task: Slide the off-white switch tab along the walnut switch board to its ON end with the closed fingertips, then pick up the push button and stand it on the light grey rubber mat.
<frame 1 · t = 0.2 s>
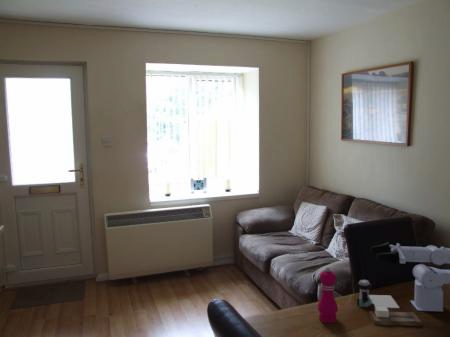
hand: (374, 253, 148), 22 cm above the table, tool horizontal, fingers open, 7 cm apart
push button: (365, 305, 151), on the table
pepper mill: (327, 319, 141), on the table
parts mat: (383, 301, 153), on the table
switch tab: (381, 312, 139), point 3 cm above the table, slide at 0.0 cm
switch board: (394, 320, 139), on the table
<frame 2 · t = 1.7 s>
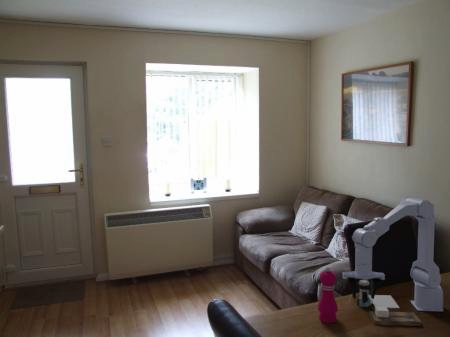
hand: (363, 297, 139), 8 cm above the table, tool pointing down, fingers open, 6 cm apart
nothing on the table moved.
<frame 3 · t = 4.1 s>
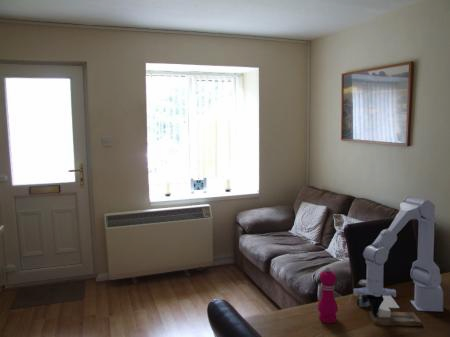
hand: (374, 314, 139), 2 cm above the table, tool pointing down, fingers closed
switch tab: (383, 312, 139), point 3 cm above the table, slide at 0.6 cm, touching gripper
everything else where it was.
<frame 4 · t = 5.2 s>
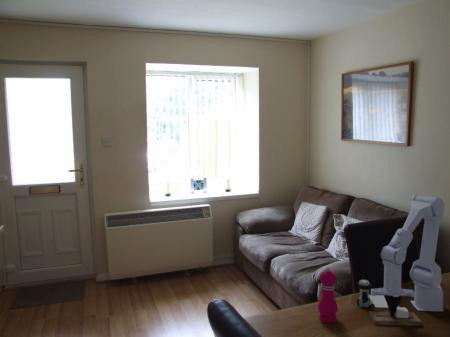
hand: (391, 314, 139), 2 cm above the table, tool pointing down, fingers closed
switch tab: (401, 312, 138), point 3 cm above the table, slide at 6.8 cm, touching gripper
everything else where it was.
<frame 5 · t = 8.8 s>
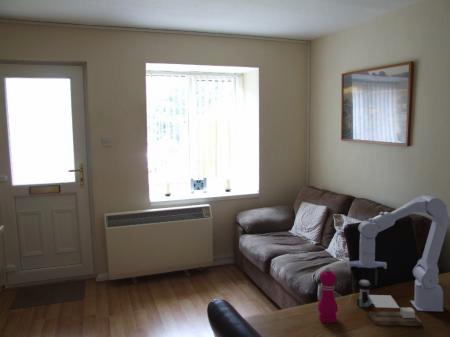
hand: (366, 285, 150), 8 cm above the table, tool pointing down, fingers open, 7 cm apart
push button: (365, 305, 151), on the table, touching gripper
switch tab: (407, 312, 138), point 3 cm above the table, slide at 9.0 cm
everything else where it was.
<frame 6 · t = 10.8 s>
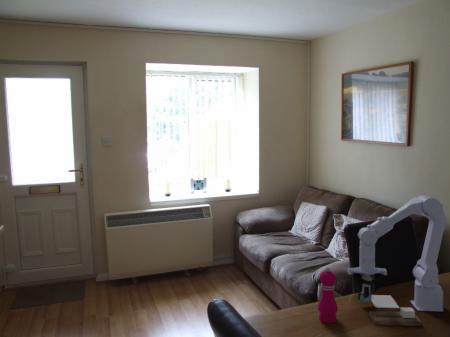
hand: (366, 291, 150), 6 cm above the table, tool pointing down, fingers closed on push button, 5 cm apart
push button: (365, 300, 151), point 2 cm above the table, touching gripper
everything else where it was.
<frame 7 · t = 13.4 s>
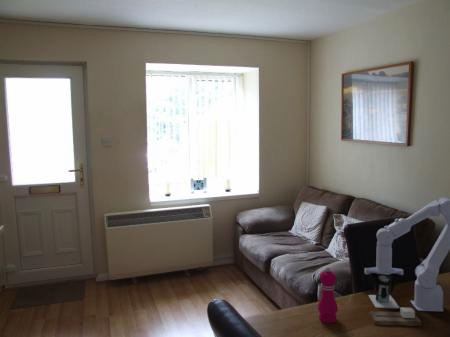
hand: (383, 291, 153), 4 cm above the table, tool pointing down, fingers closed on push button, 5 cm apart
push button: (383, 301, 153), resting on parts mat, touching gripper
everything else where it was.
when the fingers open (4 cm above the table, at t = 13.5 s): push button stays where it is, resting on parts mat.
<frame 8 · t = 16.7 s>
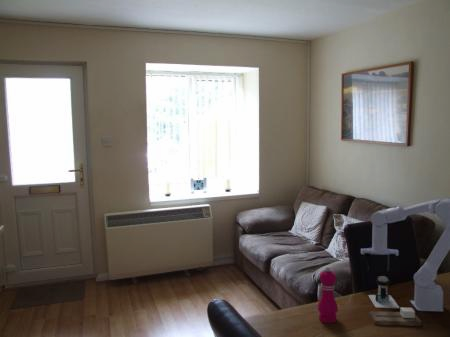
hand: (379, 271, 159), 10 cm above the table, tool pointing down, fingers open, 7 cm apart
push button: (383, 301, 153), resting on parts mat
everything else where it was.
at the end: switch tab slide at 9.0 cm; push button inside the target area on the parts mat (0.3 cm from its centre), point 0.1 cm above the parts mat's base; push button tilted 0° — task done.
